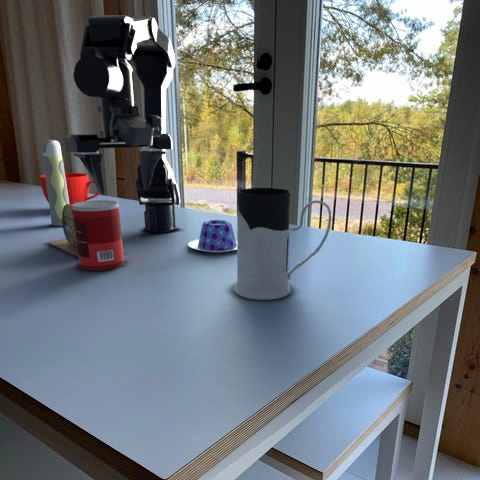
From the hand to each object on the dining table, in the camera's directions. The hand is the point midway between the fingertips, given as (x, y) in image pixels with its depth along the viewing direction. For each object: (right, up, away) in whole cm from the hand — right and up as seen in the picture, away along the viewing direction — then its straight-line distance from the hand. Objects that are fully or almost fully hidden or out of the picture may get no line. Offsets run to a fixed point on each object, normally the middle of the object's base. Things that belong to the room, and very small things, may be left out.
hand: (125, 191), depth 89 cm
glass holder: (+28, -20, -15) cm, 37 cm away
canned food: (-4, -14, -2) cm, 15 cm away
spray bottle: (-23, 0, +31) cm, 39 cm away
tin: (-11, -9, +9) cm, 17 cm away
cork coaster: (-11, -9, +9) cm, 17 cm away
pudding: (+17, -9, +10) cm, 21 cm away
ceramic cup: (-26, +7, +49) cm, 56 cm away
